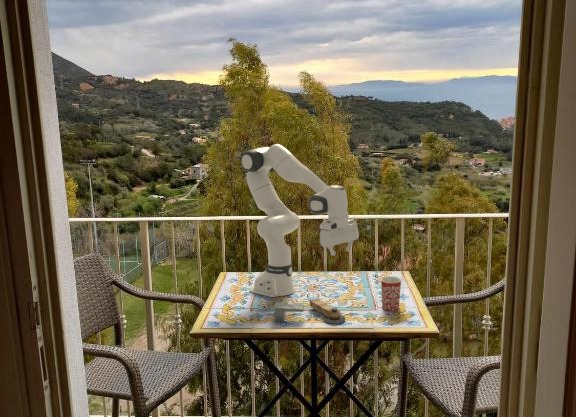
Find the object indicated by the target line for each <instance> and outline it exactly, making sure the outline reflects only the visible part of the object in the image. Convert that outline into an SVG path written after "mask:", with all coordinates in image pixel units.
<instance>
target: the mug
mask: <svg viewBox="0 0 576 417" xmlns="http://www.w3.org/2000/svg"><path fill="white" fill-rule="evenodd" d="M402 281H403V280H402V278H400V277H398V276H384V277H381V278H380V282H381V284H380V285H381V288H380V289H381V307H382V309H383V311H387V312H396V311H399V309H400V298H401V287H402Z"/></svg>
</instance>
